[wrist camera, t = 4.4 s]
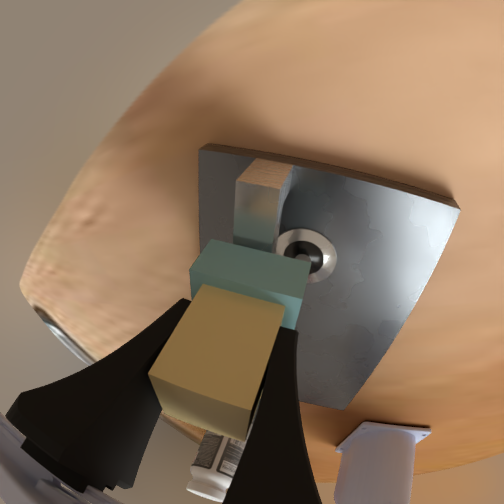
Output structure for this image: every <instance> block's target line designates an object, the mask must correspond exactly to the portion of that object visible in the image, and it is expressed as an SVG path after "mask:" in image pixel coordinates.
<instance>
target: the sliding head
mask: <svg viewBox="0 0 504 504" xmlns="http://www.w3.org/2000/svg"><path fill="white" fill-rule="evenodd" d="M310 267H311V259H310V258H309V257H308V256H307V255H305V254H299V255H297V256H296V257H295V259H294V258H289V257H285V256H281V255H277V254H273V253H269V252H264V251H260V250H256V249H252V248H248V247H244V246H240V245H235V244H231V243H227V242H223V241H219V240H214V239H211V240H210V241H209V243H208V244H207V245H206V247H205V248H204V250H203V251H202V252H201V254H200V255H199V257H198V258H197V259H196V261H195V262H194V264H193V265H192V266H191V268H190V269H189V272H190V285H191V297H192V302H191V303H190V305H189V307H188V308H187V310H186V312H185V313H184V315H183V316H182V318H181V320H180V321H179V323H178V325H177V326H176V328H175V329H174V331H173V333H172V334H171V336H170V338H169V339H168V341H167V343H166V344H165V346H164V348H163V349H162V351H161V353H160V354H159V356H158V358H157V359H156V361H155V363H154V364H153V366H152V368H151V369H150V371H149V373H148V375H149V378H150V380H151V383H152V385H153V388H154V390H155V393H156V395H157V397H158V400H159V402H160V404H161V407H162V409H163V411H164V414H166V415H169V416H171V417H174V418H176V419H179V420H181V421H184V422H186V423H189V424H192V425H194V426H197V427H200V428H203V429H205V430H208V431H211V432H214V433H217V434H220V435H223V436H226V437H229V438H233V439H236V440H239V441H242V442H245V440H246V437H247V434H248V432H249V429H250V426H251V423H252V420H253V417H254V415H255V412H256V409H257V406H258V403H259V400H260V397H261V394H262V391H263V387H264V382H265V378H266V374H267V370H268V365H269V361H270V356H271V352H272V348H273V345H274V342H275V339H276V336H277V333H278V331H279V328H280V326H282V327H286V328H289V329H293V330H294V329H295V325H296V322H297V318H298V315H299V311H300V307H301V304H302V300H303V296H304V292H305V288H306V284H307V279H308V275H309V271H310Z"/></svg>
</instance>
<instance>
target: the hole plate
mask: <svg viewBox="0 0 504 504" xmlns="http://www.w3.org/2000/svg"><path fill="white" fill-rule="evenodd" d="M256 158H258V159H264V160H270V161H275V162H280V163H286V164H291V165H293V170H292V177H291V184H290V191H289V193H288V195H287V197H286V199H285V201H284V203H283V208H282V215H281V222H280V228H279V235H278V242H277V249H276V254H277V255H281V256H285V257H289V258H294V259H295V257H296V256H297V255H299V254H305V255H307V256H308V257H309V258H310V259H311V267H310V271H309V275H308V279H307V284H306V288H305V292H304V296H303V300H302V304H301V307H300V311H299V315H298V318H297V322H296V325H295V329H294V330H297V332H298V333H299V335H298V342H297V385H298V398H299V401H301V402H305V403H310V404H314V405H319V406H324V407H329V408H334V409H339V410H344V409H345V408H346V407H347V405H348V404H349V403H350V402H351V400H352V399H353V398H354V396H355V395H356V394H357V392H358V391H359V390H360V388H361V387H362V386H363V384H364V383H365V382H366V380H367V379H368V378H369V376H370V375H371V373H372V372H373V370H374V369H375V368H376V366H377V365H378V363H379V362H380V360H381V359H382V357H383V356H384V354H385V353H386V351H387V350H388V348H389V347H390V345H391V344H392V342H393V341H394V339H395V337H396V336H397V334H398V333H399V331H400V329H401V328H402V326H403V324H404V323H405V321H406V319H407V318H408V316H409V314H410V313H411V311H412V309H413V307H414V306H415V304H416V302H417V300H418V299H419V297H420V295H421V293H422V291H423V289H424V288H425V286H426V284H427V282H428V280H429V278H430V276H431V274H432V272H433V270H434V268H435V266H436V264H437V262H438V260H439V258H440V256H441V254H442V252H443V250H444V247H445V245H446V243H447V241H448V239H449V236H450V234H451V232H452V230H453V227H454V225H455V223H456V220H457V218H458V215H459V213H460V208H459V206H458V204H457V203H456V201H455V200H453V199H450V198H447V197H444V196H441V195H438V194H435V193H432V192H429V191H426V190H422V189H419V188H416V187H413V186H409V185H406V184H402V183H399V182H395V181H392V180H388V179H385V178H381V177H377V176H373V175H370V174H366V173H362V172H358V171H354V170H350V169H346V168H341V167H337V166H333V165H328V164H324V163H319V162H314V161H310V160H305V159H300V158H295V157H290V156H284V155H279V154H274V153H268V152H262V151H256V150H250V149H244V148H237V147H230V146H223V145H216V144H206V145H205V146H203V147H202V148H200V149H199V233H200V254H201V252H202V251H203V250H204V248H205V247H206V245H207V244H208V243H209V241H210V240H211V239H214V240H219V241H223V242H227V243H231V244H233V228H234V208H235V189H236V180H237V179H238V178H239V177H240V176H241V174H242V173H243V172H244V171H245V170H246V169H247V168H248V167H249V166H250V165H251V163H252V162H253V161H254V160H255V159H256Z"/></svg>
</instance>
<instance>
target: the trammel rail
mask: <svg viewBox="0 0 504 504" xmlns="http://www.w3.org/2000/svg"><path fill="white" fill-rule="evenodd" d="M292 170H293V165H291V164H286V163H280V162H275V161H270V160H264V159H258V158H256V159H255V160H254V161H253V162H252V163H251V165H250V166H249V167H248V168H247V169H246V170H245V171H244V172H243V173H242V174H241V176H240V177H239V178H238V179H237V180H236V189H235V208H234V228H233V244H235V245H240V246H244V247H248V248H252V249H256V250H260V251H264V252H269V253H273V254H276V249H277V242H278V235H279V228H280V222H281V215H282V208H283V203H284V201H285V199H286V197H287V195H288V193H289V191H290V184H291V177H292ZM260 400H261V399H260ZM260 400H259V403H258V406H257V409H256V412H255V415H254V417H253V420H252V423H251V426H250V429H249V432H248V434H247V437H246V440H245V441H247V440H248V437H249V434H250V432H251V429H252V426H253V423H254V420H255V418H256V415H257V412H258V409H259V404H260Z"/></svg>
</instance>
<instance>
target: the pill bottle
mask: <svg viewBox="0 0 504 504" xmlns="http://www.w3.org/2000/svg"><path fill="white" fill-rule="evenodd" d="M246 442H247V441H245V442H242V441H239V440H236V439H233V438H229V437H226V436H223V435H220V434H217V433H214V432H211V431H208V430H206V433H205V435H204V437H203V440H202V442H201V444H200V447H199V449H198V452H197V454H196V456H195V459H194V461H193V464H192V465H191V468H190V472H191V474H192V475H193V480H191V481H190V482H189V483H188V486H187V490H188V491H190V492H192V493H195V494H197V495H199V496H202V497H205V498H208V499H211V500H214V501H218V502H223V500H224V498H225V496H226V492H225V490H226V488H229V486H230V484H231V481H232V479H233V476H234V474H235V471H236V469H237V466H238V463H239V461H240V458H241V456H242V453H243V450H244V448H245V445H246Z"/></svg>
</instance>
